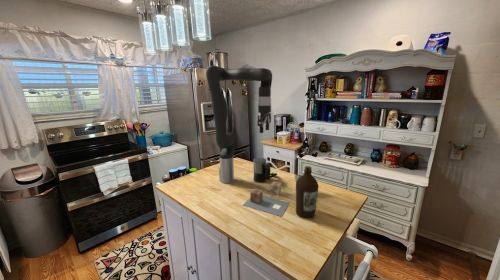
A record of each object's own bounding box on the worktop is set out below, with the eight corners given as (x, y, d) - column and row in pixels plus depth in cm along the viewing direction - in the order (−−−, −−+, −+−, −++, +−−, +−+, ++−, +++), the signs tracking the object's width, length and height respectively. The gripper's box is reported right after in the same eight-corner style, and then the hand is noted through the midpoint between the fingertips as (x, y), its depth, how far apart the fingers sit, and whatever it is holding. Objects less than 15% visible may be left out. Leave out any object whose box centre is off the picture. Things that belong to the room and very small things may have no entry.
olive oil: (291, 209, 109) (293, 164, 103) (309, 206, 111) (312, 162, 105) (300, 221, 99) (303, 172, 93) (320, 218, 101) (324, 170, 95)
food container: (291, 191, 127) (292, 176, 125) (294, 187, 132) (294, 172, 130) (312, 196, 121) (313, 180, 119) (314, 191, 127) (315, 176, 124)
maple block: (270, 193, 125) (270, 184, 123) (273, 190, 129) (273, 181, 128) (278, 195, 123) (278, 186, 121) (281, 192, 127) (281, 183, 125)
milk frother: (250, 180, 143) (250, 160, 139) (262, 172, 156) (262, 153, 152) (268, 185, 135) (269, 164, 132) (279, 176, 148) (279, 157, 144)
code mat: (242, 205, 113) (242, 205, 113) (254, 193, 125) (254, 193, 125) (281, 216, 103) (281, 216, 103) (289, 202, 115) (289, 202, 115)
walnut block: (250, 201, 116) (250, 192, 114) (255, 197, 120) (255, 188, 118) (258, 204, 113) (258, 194, 112) (262, 200, 117) (262, 190, 116)
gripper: (263, 103, 129) (263, 128, 133) (253, 105, 117) (253, 133, 121) (275, 103, 126) (274, 129, 130) (265, 105, 114) (265, 134, 118)
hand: (264, 131), depth 126 cm, fingers open, 8 cm apart
